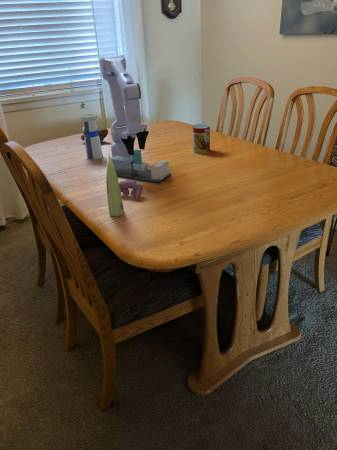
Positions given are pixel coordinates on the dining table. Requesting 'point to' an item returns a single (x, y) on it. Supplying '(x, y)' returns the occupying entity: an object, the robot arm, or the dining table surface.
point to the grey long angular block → (133, 171)
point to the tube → (113, 190)
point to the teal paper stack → (138, 162)
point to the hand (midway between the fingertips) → (136, 152)
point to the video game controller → (131, 185)
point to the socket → (160, 170)
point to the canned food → (201, 138)
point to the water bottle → (91, 135)
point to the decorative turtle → (101, 133)
